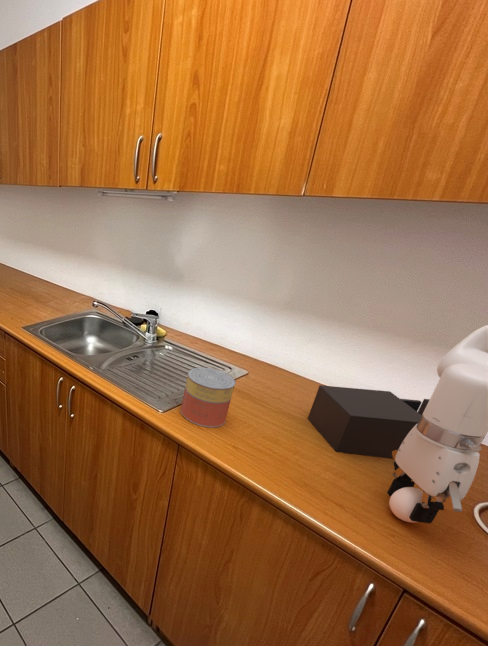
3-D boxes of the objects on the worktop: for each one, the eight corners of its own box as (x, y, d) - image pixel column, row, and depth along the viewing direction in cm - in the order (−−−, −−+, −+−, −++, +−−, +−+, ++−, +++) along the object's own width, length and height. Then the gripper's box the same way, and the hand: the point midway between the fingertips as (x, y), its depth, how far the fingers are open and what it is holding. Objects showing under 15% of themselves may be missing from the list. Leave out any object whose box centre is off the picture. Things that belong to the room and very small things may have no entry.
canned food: (234, 419, 107) (245, 381, 103) (207, 432, 102) (217, 393, 98) (197, 399, 116) (205, 363, 112) (171, 410, 112) (178, 373, 107)
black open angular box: (433, 430, 100) (448, 400, 97) (477, 463, 89) (496, 432, 86) (349, 421, 104) (361, 393, 101) (381, 452, 93) (395, 421, 90)
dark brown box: (375, 425, 104) (390, 391, 100) (413, 461, 92) (432, 423, 88) (307, 418, 107) (319, 385, 103) (335, 451, 95) (350, 415, 91)
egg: (388, 522, 77) (403, 493, 74) (380, 503, 81) (394, 475, 78) (426, 534, 74) (442, 505, 71) (416, 514, 78) (431, 485, 75)
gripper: (524, 469, 61) (470, 551, 68) (435, 406, 76) (399, 479, 83) (464, 462, 62) (417, 543, 69) (389, 402, 78) (357, 473, 85)
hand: (408, 507), depth 76 cm, fingers closed on egg, 5 cm apart
